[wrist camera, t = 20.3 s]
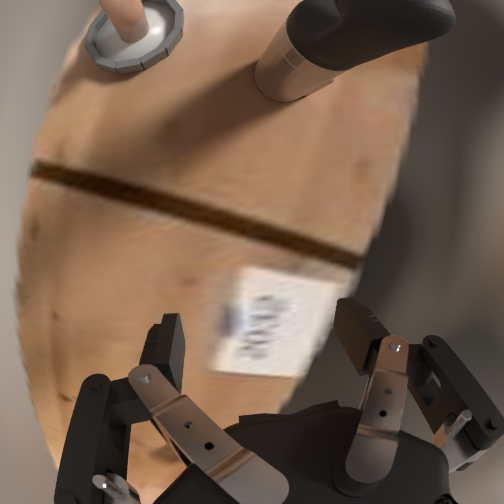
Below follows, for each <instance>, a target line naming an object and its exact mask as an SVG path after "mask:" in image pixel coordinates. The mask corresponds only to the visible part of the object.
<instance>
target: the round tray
mask: <svg viewBox="0 0 504 504" xmlns="http://www.w3.org/2000/svg"><path fill="white" fill-rule="evenodd" d="M141 2H142V5H143V9H144V12H145V15H146V18H147V21H148V24H149V32H148V34H147V35H146V36H145V37H144V38H143V39H141V40H140V41H137V42H134V43H126V42H124V41H123V40H122V39H121V38H120V36H119V34H118V33H117V31H116V29H115V28H114V26H113V25H112V23H111V21H110V20H109V18H108V16H107V15H106V13H105V11H104V10H102V11H101V12H100V13H99V15H98V16H97V17H96V18H95V20H94V21H93V22H92V23H91V25H90V27H89V29H88V34H87V39H86V45H85V46H86V49H87V51H88V52H89V54H90V56H91V58H92V59H93V61H94V62H95V63H96V64H97V65H98V66H99V67H100V68H102V69H105V70H108V71H111V72H114V73H117V74H119V73H120V74H124V73H130V72H136V71H142V70H144V68H145V69H148V68H149V67H151V66H152V65H154V64H156V63H157V62H159V61H161V60H163V59H164V58H166V57H168V56H167V55H170V53H171V52H172V50H173V49H174V48H175V46H176V45H177V44H178V42H179V41H180V40H181V38H182V36H183V24H184V12H183V9H182V7H181V6H180V5H179V4H178V3H177V1H176V0H141Z"/></svg>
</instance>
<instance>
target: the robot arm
mask: <svg viewBox="0 0 504 504" xmlns="http://www.w3.org/2000/svg"><path fill="white" fill-rule="evenodd" d="M455 23H456V16H455V14H454V11H453V9H452V7H451V5H450V3H449V1H448V0H303V1H302V2H300V3H299V4H298V5H297V6H296V7H295V8H294V9H293V11H292V12H291V13H290V15H289V16H288V18H287V19H286V20H285V22H284V23H283V25H282V26H281V28H280V29H279V31H278V32H277V33H276V35H275V36H274V38H273V39H272V41H271V42H270V44H269V45H268V47H267V49H266V50H265V52H264V53H263V55H262V56H261V58H260V59H259V60H258V62H257V64H256V66H255V69H254V81H255V83H256V86H257V87H258V89H259V90H260V91H261V92H262V93H263V94H264V95H265V96H267V97H268V98H270V99H272V100H275V101H279V102H290V101H294V100H296V99H298V98H300V97H301V96H309V95H311V94H312V93H314V92H316V91H318V90H319V89H321V88H323V87H325V86H327V85H329V84H331V83H332V82H333V81H334V78H335V77H336V76H338V75H340V74H342V73H344V72H346V71H347V70H349V69H351V68H353V67H355V66H357V65H360V64H363V63H365V62H368V61H371V60H374V59H376V58H379V57H382V56H384V55H386V54H389V53H391V52H394V51H397V50H400V49H403V48H406V47H410V46H413V45H417V44H420V43H424V42H427V41H430V40H433V39H436V38H438V37H441V36H443V35H445V34H447V33H448V32H450V30H451V29H452V28H453V27H454V25H455ZM334 331H335V334H336V336H337V337H338V339H339V341H340V342H341V344H342V346H343V348H344V349H345V351H346V353H347V355H348V356H349V358H350V360H351V362H352V363H353V365H354V367H355V369H356V370H357V372H358V374H359V376H362V375H366V374H368V375H369V379H368V383H367V386H366V389H365V392H364V395H363V398H362V401H361V404H360V407H359V409H356V408H352V407H344V406H339V404H338V402H337V400H335V401H331V402H327V403H322V404H317V405H313V406H311V407H309V408H306V409H304V410H301V411H299V412H297V413H294V414H291V415H283V414H267V413H262V414H253V415H243V416H239V423H236V424H234V425H231V426H229V427H227V428H225V429H223V430H222V429H221V428H220V427H219V426H218V425H217V424H216V423H215V422H214V421H212V420H211V419H210V418H209V417H208V416H207V415H206V414H205V413H204V412H203V411H202V410H201V409H200V408H199V407H198V406H197V405H196V404H195V403H194V402H193V401H192V400H191V399H190V398H189V397H188V396H187V395H185V394H184V395H181V388H182V377H183V366H184V357H185V338H184V333H183V328H182V324H181V319H180V315H179V313H171V314H164V315H163V319H162V323H161V324H154V325H153V326H152V327H151V329H150V330H149V331H148V335H147V339H146V341H145V345H144V348H143V352H142V355H141V359H140V362H139V366H137V367H135V368H133V369H132V370H131V371H130V373H129V375H128V377H126V378H123V379H118V380H113V381H110V379H109V378H108V377H107V376H106V375H104V374H93V375H91V376H89V377H87V378H86V379H85V380H84V381H83V383H82V386H81V389H80V392H79V395H78V398H77V401H76V404H75V407H74V411H73V414H72V418H71V421H70V425H69V428H68V432H67V436H66V440H65V444H64V448H63V452H62V457H61V461H60V466H59V471H58V477H57V482H56V489H55V495H54V503H55V504H141V502H140V497H139V494H138V492H137V491H136V489H135V488H134V487H132V486H131V485H130V484H129V483H128V482H127V466H128V453H129V443H130V433H131V425H132V424H134V423H139V422H143V421H148V420H149V421H150V422H151V424H152V425H153V426H154V428H155V429H156V430H157V431H158V433H159V434H160V435H161V437H162V438H163V439H164V440H165V442H166V443H167V444H168V445H169V447H170V448H171V449H172V451H173V452H174V453H175V455H176V456H177V457H178V458H179V460H180V461H181V462H182V463H183V464H184V465H185V466H186V467H187V468H186V469H185V470H184V471H183V472H182V473H181V474H180V476H179V477H178V478H177V479H176V480H175V481H174V482H173V483H172V484H171V485H170V486H169V487H168V488H167V489H166V490H165V491H164V492H163V493H162V494H161V495H160V496H159V497H158V498H157V499H156V500H155V501H154V502H153V504H458V503H457V502H456V501H455V500H454V499H453V498H452V496H451V493H450V488H449V473H451V472H453V471H454V470H457V471H462V470H465V469H466V468H468V467H469V466H470V465H471V464H472V463H473V462H475V461H476V460H477V459H478V458H479V457H480V456H481V455H482V454H483V453H485V452H486V451H487V450H488V449H489V448H490V447H491V446H492V445H493V444H494V443H495V442H496V441H497V440H498V439H499V438H500V437H501V436H502V435H503V434H504V418H503V416H502V415H501V413H500V412H499V410H498V409H497V407H496V406H495V404H494V403H493V402H492V401H491V399H490V398H489V396H488V395H487V394H486V392H485V391H484V389H483V388H482V387H481V385H480V384H479V383H478V381H477V380H476V379H475V377H474V376H473V375H472V374H471V373H470V371H469V370H468V369H467V367H466V366H465V365H464V364H463V362H462V361H461V360H460V359H459V357H458V356H457V355H456V354H455V353H454V351H453V350H452V349H451V348H450V347H449V346H448V344H447V343H446V342H445V341H444V340H443V339H442V338H440V337H438V336H435V335H428V336H426V337H425V338H424V339H423V341H422V343H421V344H408V343H407V342H406V340H404V339H403V338H401V337H399V336H394V335H390V333H389V332H388V331H387V330H386V328H385V327H384V326H383V325H382V324H381V322H380V321H378V319H377V317H376V316H374V314H373V313H372V312H371V310H370V309H368V308H367V307H365V306H363V305H359V304H358V303H357V301H356V300H355V299H354V298H353V297H347V298H340V299H338V301H337V305H336V312H335V318H334ZM434 374H435V375H436V377H437V378H438V379H439V381H440V383H441V389H440V387H439V386H438V385H437V383H436V382H435V380H434V379H433V375H434ZM407 387H408V389H409V390H410V392H411V394H412V396H413V397H414V399H415V401H416V402H417V404H418V406H419V408H420V410H421V411H422V413H423V415H424V417H425V418H426V420H427V422H428V424H429V425H430V428H431V430H432V431H433V433H434V436H433V444H431V443H429V442H427V441H424V440H422V439H420V438H418V437H415V436H413V435H411V434H409V433H407V432H404V431H402V430H400V429H399V428H400V423H401V418H402V413H403V408H404V403H405V397H406V391H407Z"/></svg>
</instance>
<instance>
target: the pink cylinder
mask: <svg viewBox="0 0 504 504" xmlns="http://www.w3.org/2000/svg"><path fill="white" fill-rule="evenodd" d="M100 4H101V6H102V8H103V10H104V11H105V13H106V15H107V16H108V18H109V20H110V21H111V23H112V25H113V26H114V28H115V29H116V31H117V33H118V34H119V36H120V38H121V39H122V40H123V41H124V42H126V43H134V42H137V41H140V40H141V39H143V38H144V37H145V36H146V35H147V34H148V32H149V24H148V21H147V18H146V15H145V12H144V9H143V5H142V2H141V0H100Z"/></svg>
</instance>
